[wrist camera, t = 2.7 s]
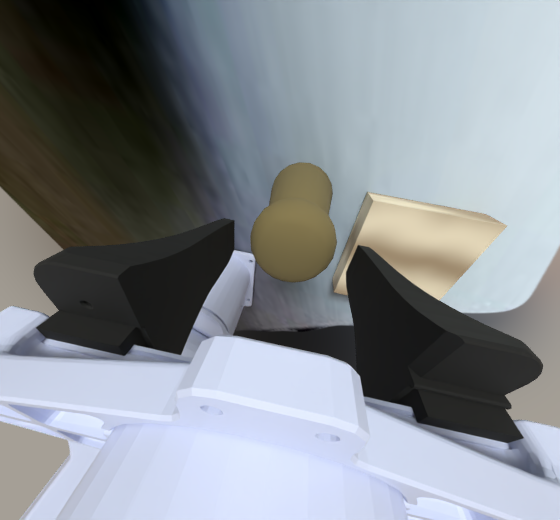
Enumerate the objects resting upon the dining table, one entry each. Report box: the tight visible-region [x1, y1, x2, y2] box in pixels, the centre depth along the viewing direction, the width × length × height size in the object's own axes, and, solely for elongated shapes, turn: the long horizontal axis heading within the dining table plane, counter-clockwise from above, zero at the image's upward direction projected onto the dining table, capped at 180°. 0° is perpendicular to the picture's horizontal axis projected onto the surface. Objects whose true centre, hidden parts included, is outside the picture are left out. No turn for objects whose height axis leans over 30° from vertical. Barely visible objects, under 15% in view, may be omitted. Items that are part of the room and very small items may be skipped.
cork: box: [251, 163, 337, 282], centre depth 15 cm, size 6×6×11 cm
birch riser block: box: [333, 192, 507, 300], centre depth 21 cm, size 11×11×2 cm
